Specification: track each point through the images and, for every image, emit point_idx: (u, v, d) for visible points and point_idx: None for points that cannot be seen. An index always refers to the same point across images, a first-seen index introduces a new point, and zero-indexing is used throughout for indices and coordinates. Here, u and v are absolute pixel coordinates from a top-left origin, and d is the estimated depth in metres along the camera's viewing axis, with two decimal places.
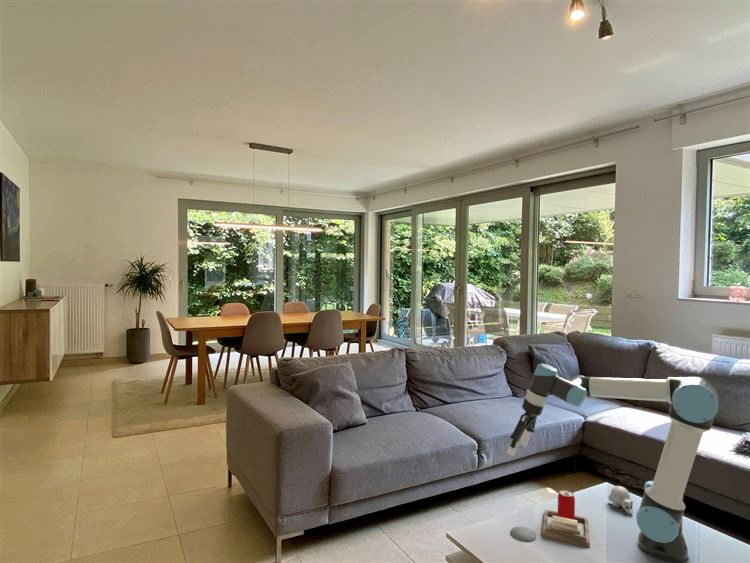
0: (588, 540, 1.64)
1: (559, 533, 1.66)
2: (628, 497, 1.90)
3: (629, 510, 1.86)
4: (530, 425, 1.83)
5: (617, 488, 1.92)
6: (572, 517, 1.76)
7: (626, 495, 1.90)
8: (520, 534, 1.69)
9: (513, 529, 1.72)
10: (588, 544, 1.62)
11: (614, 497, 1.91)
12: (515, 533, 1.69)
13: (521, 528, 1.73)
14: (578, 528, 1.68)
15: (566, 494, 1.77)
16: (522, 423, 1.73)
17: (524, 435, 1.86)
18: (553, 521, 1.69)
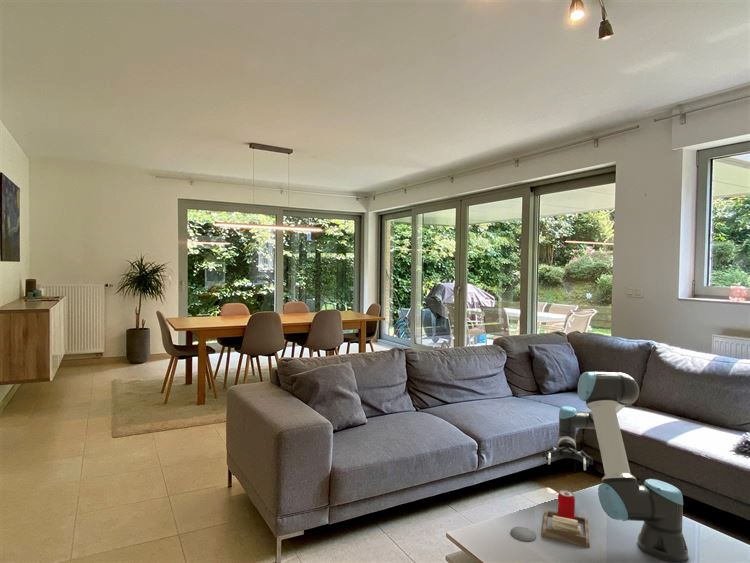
0: (588, 540, 1.64)
1: (559, 533, 1.66)
2: None
3: None
4: (578, 455, 1.95)
5: None
6: (572, 517, 1.76)
7: None
8: (520, 534, 1.69)
9: (513, 529, 1.72)
10: (588, 544, 1.62)
11: None
12: (515, 533, 1.69)
13: (521, 528, 1.73)
14: (578, 528, 1.68)
15: (566, 494, 1.77)
16: None
17: (583, 464, 1.89)
18: (553, 521, 1.69)
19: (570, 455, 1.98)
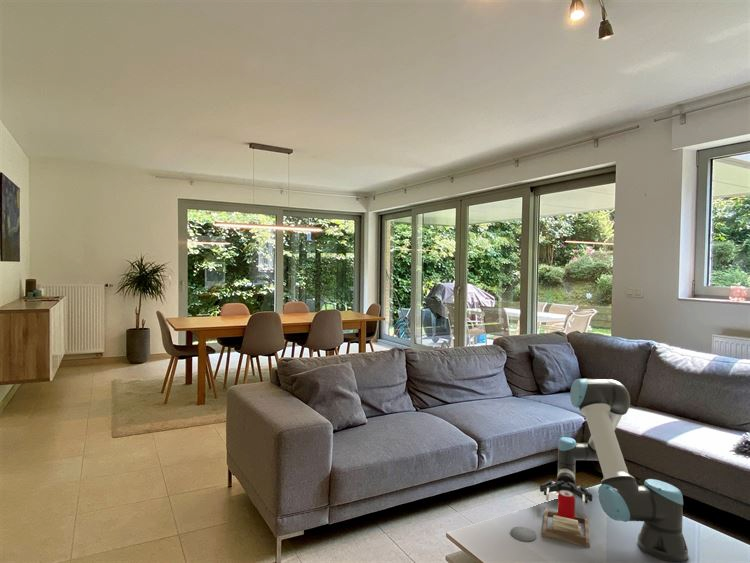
0: (588, 540, 1.64)
1: (559, 533, 1.66)
2: None
3: None
4: (577, 491, 1.90)
5: None
6: (572, 517, 1.76)
7: None
8: (520, 534, 1.69)
9: (513, 529, 1.72)
10: (588, 544, 1.62)
11: None
12: (515, 533, 1.69)
13: (521, 528, 1.73)
14: (579, 528, 1.68)
15: (566, 494, 1.77)
16: None
17: (582, 500, 1.84)
18: (554, 521, 1.69)
19: (569, 490, 1.93)
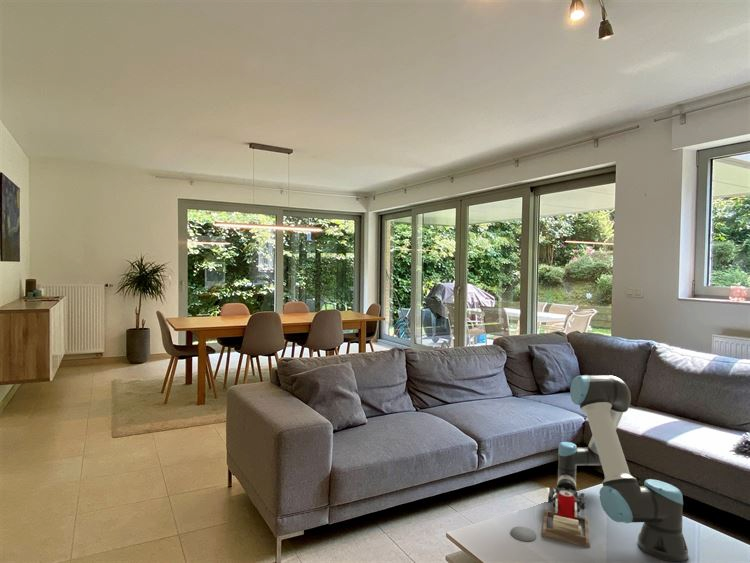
0: (588, 540, 1.64)
1: (559, 533, 1.66)
2: None
3: None
4: None
5: None
6: (572, 517, 1.76)
7: None
8: (520, 534, 1.69)
9: (513, 529, 1.72)
10: (588, 544, 1.62)
11: None
12: (515, 533, 1.69)
13: (521, 528, 1.73)
14: (579, 528, 1.68)
15: (566, 494, 1.77)
16: (550, 491, 1.89)
17: None
18: (554, 521, 1.70)
19: None
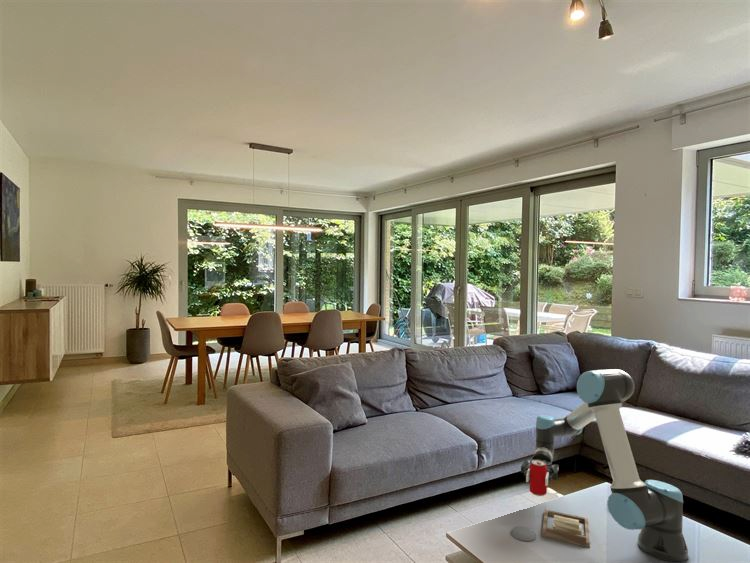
0: (588, 540, 1.64)
1: (559, 533, 1.66)
2: None
3: None
4: None
5: None
6: (544, 486, 1.72)
7: None
8: (520, 534, 1.69)
9: (513, 529, 1.72)
10: (588, 544, 1.62)
11: None
12: (515, 533, 1.69)
13: (521, 528, 1.73)
14: (579, 528, 1.68)
15: (538, 463, 1.74)
16: None
17: None
18: (554, 520, 1.70)
19: None
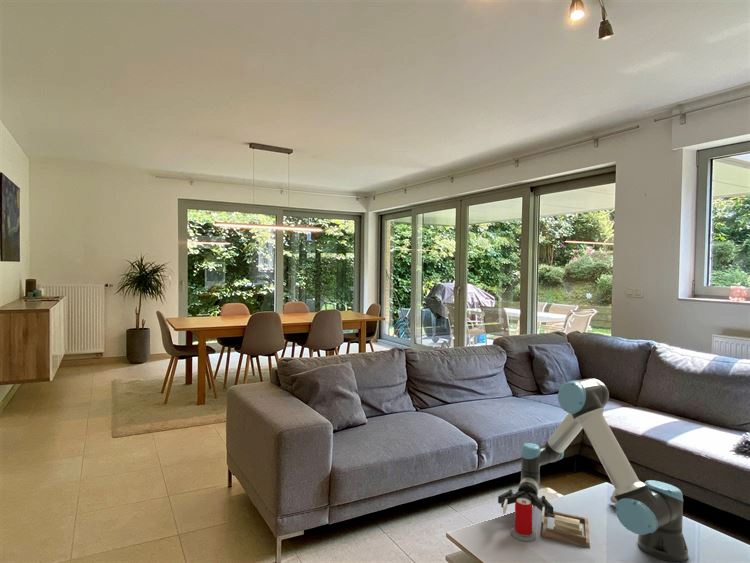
0: (588, 540, 1.64)
1: (559, 533, 1.66)
2: None
3: None
4: (537, 503, 1.74)
5: None
6: (529, 526, 1.67)
7: None
8: None
9: (513, 529, 1.72)
10: (588, 544, 1.62)
11: None
12: (515, 533, 1.69)
13: None
14: (580, 528, 1.68)
15: (523, 502, 1.69)
16: None
17: None
18: (555, 520, 1.70)
19: None
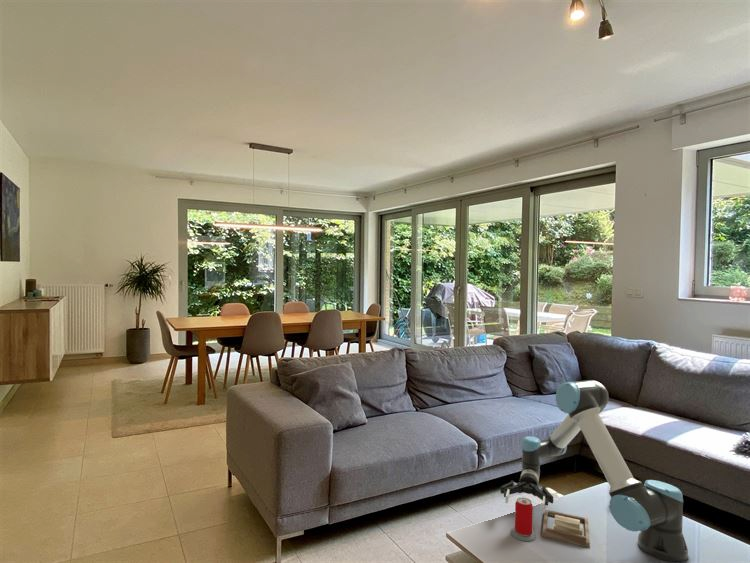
0: (588, 540, 1.64)
1: (559, 533, 1.66)
2: None
3: None
4: (538, 492, 1.83)
5: None
6: (529, 526, 1.67)
7: None
8: None
9: (513, 529, 1.72)
10: (588, 544, 1.62)
11: None
12: (515, 533, 1.69)
13: None
14: (580, 527, 1.68)
15: (523, 502, 1.69)
16: None
17: None
18: (555, 520, 1.70)
19: (530, 492, 1.85)
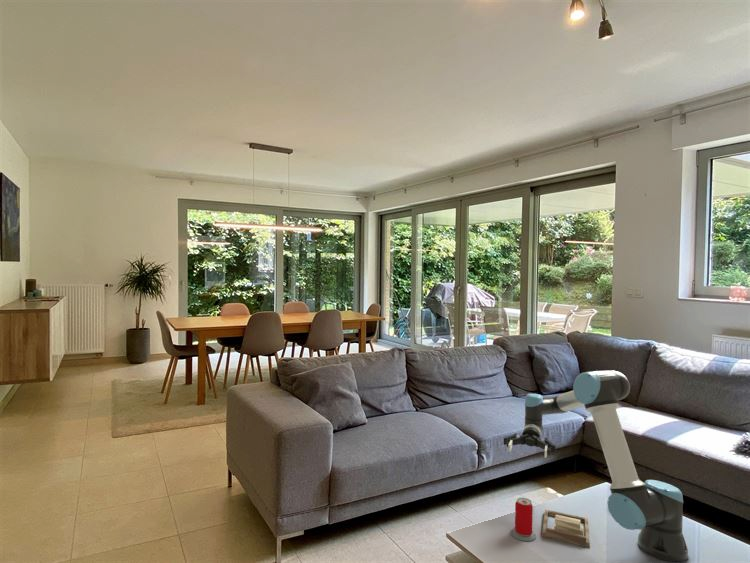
0: (588, 540, 1.64)
1: (559, 533, 1.66)
2: None
3: None
4: (540, 443, 1.86)
5: None
6: (529, 526, 1.67)
7: None
8: None
9: (513, 529, 1.72)
10: (588, 544, 1.62)
11: None
12: (515, 533, 1.69)
13: None
14: (581, 527, 1.68)
15: (523, 502, 1.69)
16: None
17: None
18: (556, 520, 1.70)
19: (533, 443, 1.89)
